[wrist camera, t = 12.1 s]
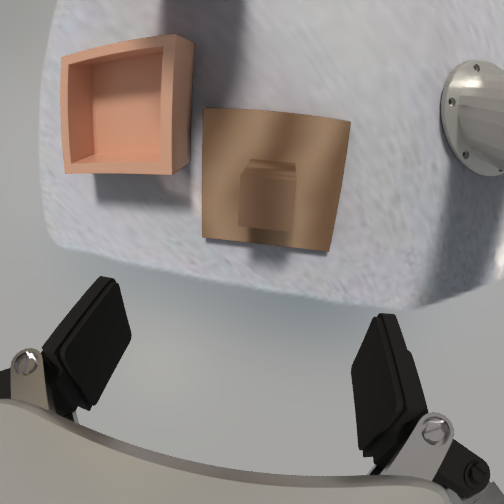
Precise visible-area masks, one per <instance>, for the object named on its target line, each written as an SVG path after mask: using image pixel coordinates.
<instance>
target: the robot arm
mask: <svg viewBox="0 0 504 504" xmlns="http://www.w3.org/2000/svg"><path fill="white" fill-rule="evenodd" d="M449 101H450V103H449ZM441 116H442V123H443V128H444V132H445V135H446V138H447V140H448V143H449V145H450V147H451V149H452V151H453V152H454V154H455V155H456V157H457V158H458V159H459V160H460V161H461V163H462V164H464V165H465V166H466V167H467V168H469V169H470V170H472V171H474V172H476V173H477V174H480V175H483V176H490V177H493V176H498V175H501V174H503V173H504V70H502V69H501V68H499V67H498V66H497V65H495V64H493V63H490V62H488V61H482V60H472V61H468V62H464V63H462V64H461V65H459V66H457V67H456V68H455V69H454V70H453V71H452V72H451V74H450V76H449V77H448V79H447V81H446V83H445V86H444V89H443V94H442V100H441ZM130 340H131V330H130V326H129V323H128V319H127V315H126V311H125V307H124V303H123V299H122V295H121V291H120V287H119V284H118V283H116V281H115V279H113V278H108V277H103V276H100V277H99V278H98V279H97V280H96V281H95V282H94V283H93V284H92V285H91V287H90V288H89V289H88V290H87V291H86V292H85V294H84V295H83V296H82V297H81V299H80V300H79V301H78V302H77V303H76V304H75V306H74V307H73V308H72V309H71V311H70V312H69V313H68V314H67V315H66V317H65V318H64V319H63V320H62V322H61V323H60V324H59V326H58V327H57V328H56V329H55V331H54V332H53V333H52V335H51V336H50V337H49V339H48V340H47V341H46V342H45V344H44V345H43V347H42V349H43V351H42V352H41V353H40V352H39V351H37V350H36V349H32V348H29V349H24V350H22V351H20V352H19V353H17V354H16V355H15V357H14V358H13V360H12V362H11V368H9V369H6V370H3V371H0V504H504V495H503V493H502V492H501V491H500V489H499V488H498V486H497V485H496V484H495V482H491V483H490V481H489V479H490V470H489V466H488V465H487V463H486V462H485V461H484V460H483V459H481V458H480V457H478V456H477V455H476V454H474V453H472V452H471V451H470V450H468V449H467V448H466V447H464V446H463V445H461V444H460V443H458V442H457V441H456V440H454V439H453V437H454V429H453V426H452V423H451V422H450V420H449V419H448V418H446V416H444V415H442V414H440V413H435V412H432V413H428V409H427V405H426V401H425V397H424V394H423V390H422V387H421V383H420V380H419V376H418V373H417V370H416V366H415V363H414V360H413V357H412V354H411V352H409V351H408V350H407V347H406V344H405V341H404V338H403V335H402V332H401V329H400V327H399V324H398V321H397V318H396V316H395V315H394V314H384V313H380V314H378V316H377V317H373V319H372V321H371V323H370V326H369V329H368V331H367V333H366V335H365V338H364V340H363V342H362V345H361V347H360V349H359V351H358V354H357V356H356V358H355V360H354V362H353V364H352V368H351V376H352V384H353V393H354V403H355V413H356V422H357V436H358V446H359V450H363V457H373V458H374V464H375V465H374V466H373V468H372V469H371V470H370V471H369V473H368V474H367V475H360V476H298V475H297V476H296V475H281V474H269V473H259V472H251V471H243V470H236V469H230V468H224V467H218V466H213V465H207V464H202V463H198V462H193V461H188V460H184V459H180V458H176V457H172V456H168V455H165V454H161V453H158V452H154V451H151V450H147V449H144V448H141V447H138V446H135V445H132V444H129V443H126V442H123V441H120V440H117V439H114V438H112V437H109V436H106V435H104V434H102V433H99V432H97V431H94V430H92V429H89V428H87V427H84V426H82V425H80V424H79V422H78V419H77V415H76V409H77V407H78V406H79V407H81V408H83V409H86V410H88V411H90V409H91V407H92V405H93V406H94V405H96V404H97V402H98V400H99V398H100V396H101V394H102V392H103V390H104V389H105V387H106V385H107V383H108V381H109V379H110V377H111V375H112V374H113V372H114V370H115V368H116V366H117V364H118V363H119V361H120V359H121V357H122V355H123V353H124V352H125V350H126V348H127V346H128V344H129V343H130Z"/></svg>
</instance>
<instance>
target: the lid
mask: <svg viewBox="0 0 504 504" xmlns="http://www.w3.org/2000/svg"><path fill="white" fill-rule="evenodd" d="M350 125H351V122H349V121H344V120H338V119H332V118H325V117H319V116H311V115H304V114H295V113H286V112H276V111H264V110H250V109H230V108H204V112H203V145H202V237H204V238H213V239H222V240H231V241H241V242H250V243H258V244H267V245H276V246H285V247H294V248H302V249H311V250H319V251H328V252H329V249H330V244H331V239H332V234H333V229H334V224H335V219H336V214H337V208H338V203H339V197H340V192H341V186H342V180H343V174H344V167H345V161H346V154H347V147H348V140H349V133H350Z"/></svg>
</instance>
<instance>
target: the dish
mask: <svg viewBox="0 0 504 504" xmlns="http://www.w3.org/2000/svg"><path fill="white" fill-rule="evenodd" d="M194 50H195V43H193V42H191V41H189V40H187V39H185V38H183V37H181V36H179V35H177V34H170V35H161V36H154V37H147V38H140V39H134V40H129V41H123V42H118V43H113V44H109V45H104V46H100V47H96V48H92V49H88V50H84V51H81V52H77V53H74V54H70V55H67V56H64V57H62V60H61V85H60V107H61V133H62V147H63V159H64V168H65V174H75V173H125V174H160V175H173V174H174V173H175V172H177V171H178V170H180V169H181V168H182V167H184V166H185V165H187V164H188V163H189V162H190V142H191V105H192V83H193V65H194Z"/></svg>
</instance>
